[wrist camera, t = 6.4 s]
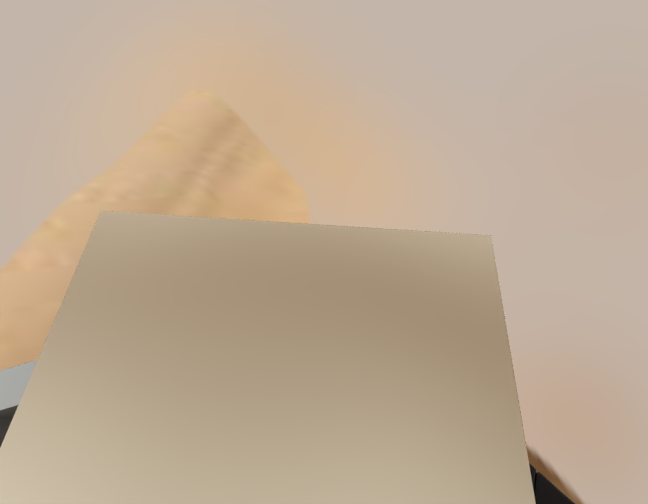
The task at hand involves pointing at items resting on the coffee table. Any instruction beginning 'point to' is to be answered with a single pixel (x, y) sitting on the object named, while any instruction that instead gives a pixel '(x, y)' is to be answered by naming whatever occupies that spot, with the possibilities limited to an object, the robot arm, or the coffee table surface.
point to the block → (272, 371)
